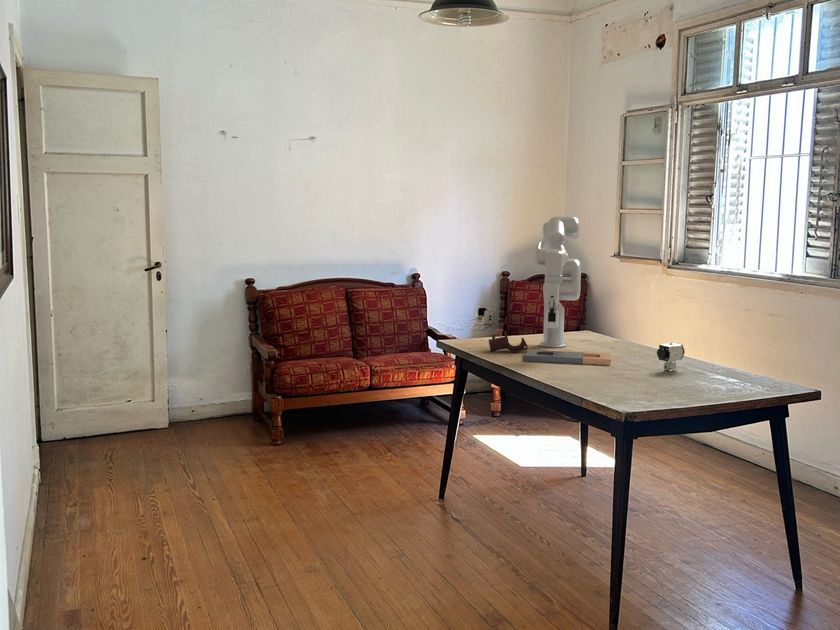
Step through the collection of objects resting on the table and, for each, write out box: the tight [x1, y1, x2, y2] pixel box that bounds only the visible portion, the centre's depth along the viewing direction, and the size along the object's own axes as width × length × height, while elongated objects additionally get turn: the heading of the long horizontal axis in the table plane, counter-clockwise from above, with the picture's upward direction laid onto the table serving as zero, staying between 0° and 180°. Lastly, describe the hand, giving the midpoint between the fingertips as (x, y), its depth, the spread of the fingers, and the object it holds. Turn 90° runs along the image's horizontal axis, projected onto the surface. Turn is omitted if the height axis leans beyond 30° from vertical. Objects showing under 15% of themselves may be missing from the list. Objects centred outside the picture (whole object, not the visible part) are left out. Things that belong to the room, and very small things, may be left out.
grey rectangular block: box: [546, 310, 559, 328], centre depth 351 cm, size 5×5×7 cm
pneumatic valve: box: [656, 341, 685, 371], centre depth 331 cm, size 6×12×12 cm, turn 122°
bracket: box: [488, 330, 529, 353], centre depth 371 cm, size 6×17×10 cm, turn 88°
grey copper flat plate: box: [524, 349, 612, 366], centre depth 352 cm, size 14×36×2 cm, turn 78°
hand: (552, 320), depth 352 cm, fingers closed on grey rectangular block, 5 cm apart
